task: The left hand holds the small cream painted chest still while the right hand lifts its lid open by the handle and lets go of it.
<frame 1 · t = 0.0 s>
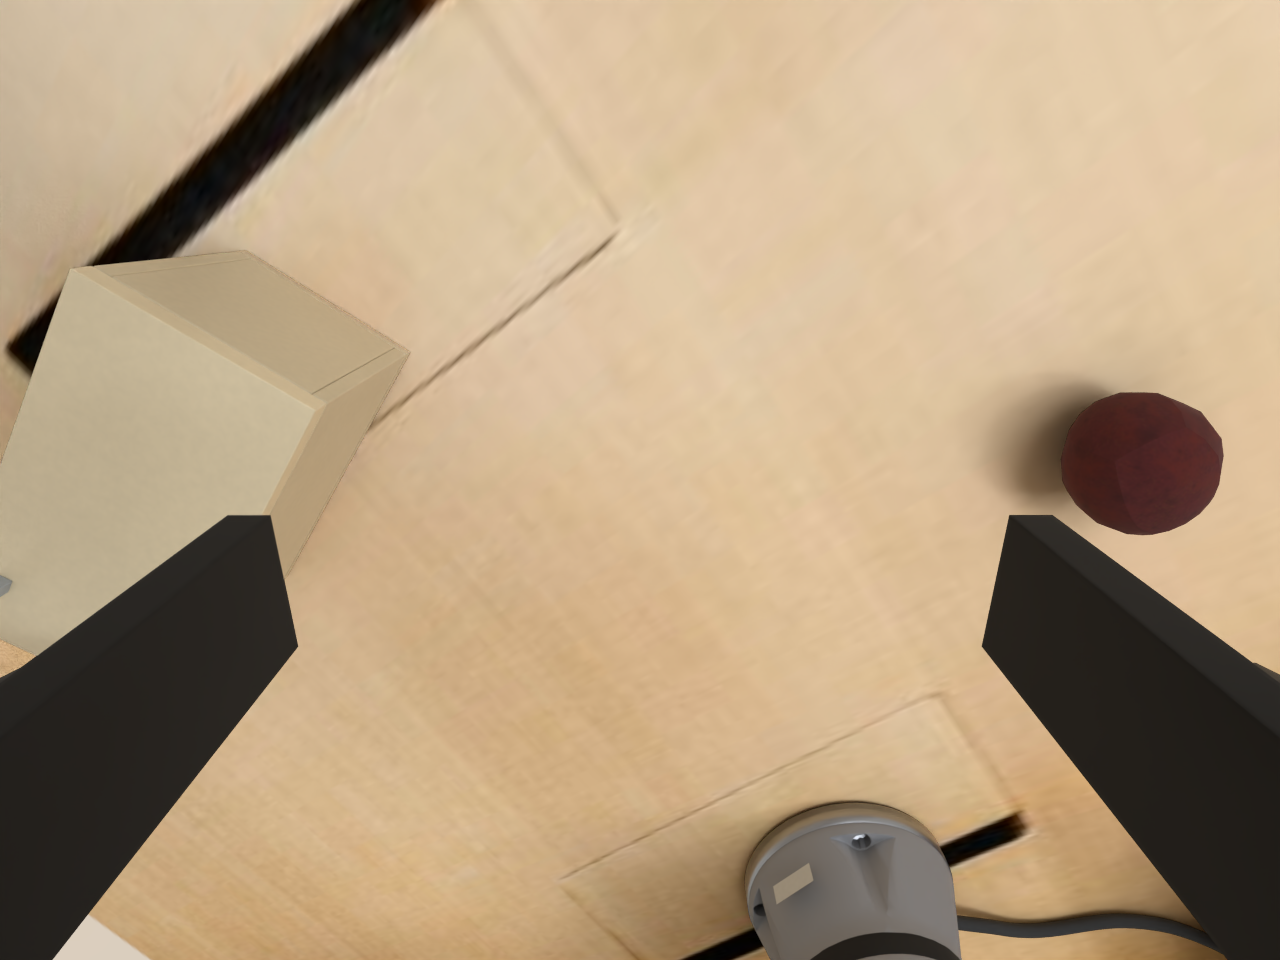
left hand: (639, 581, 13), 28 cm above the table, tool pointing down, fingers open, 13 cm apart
dark red ball: (1096, 440, 41), on the table
chest: (268, 426, 41), on the table
lid: (61, 553, 26), point 15 cm above the table, hinge at 0.0°
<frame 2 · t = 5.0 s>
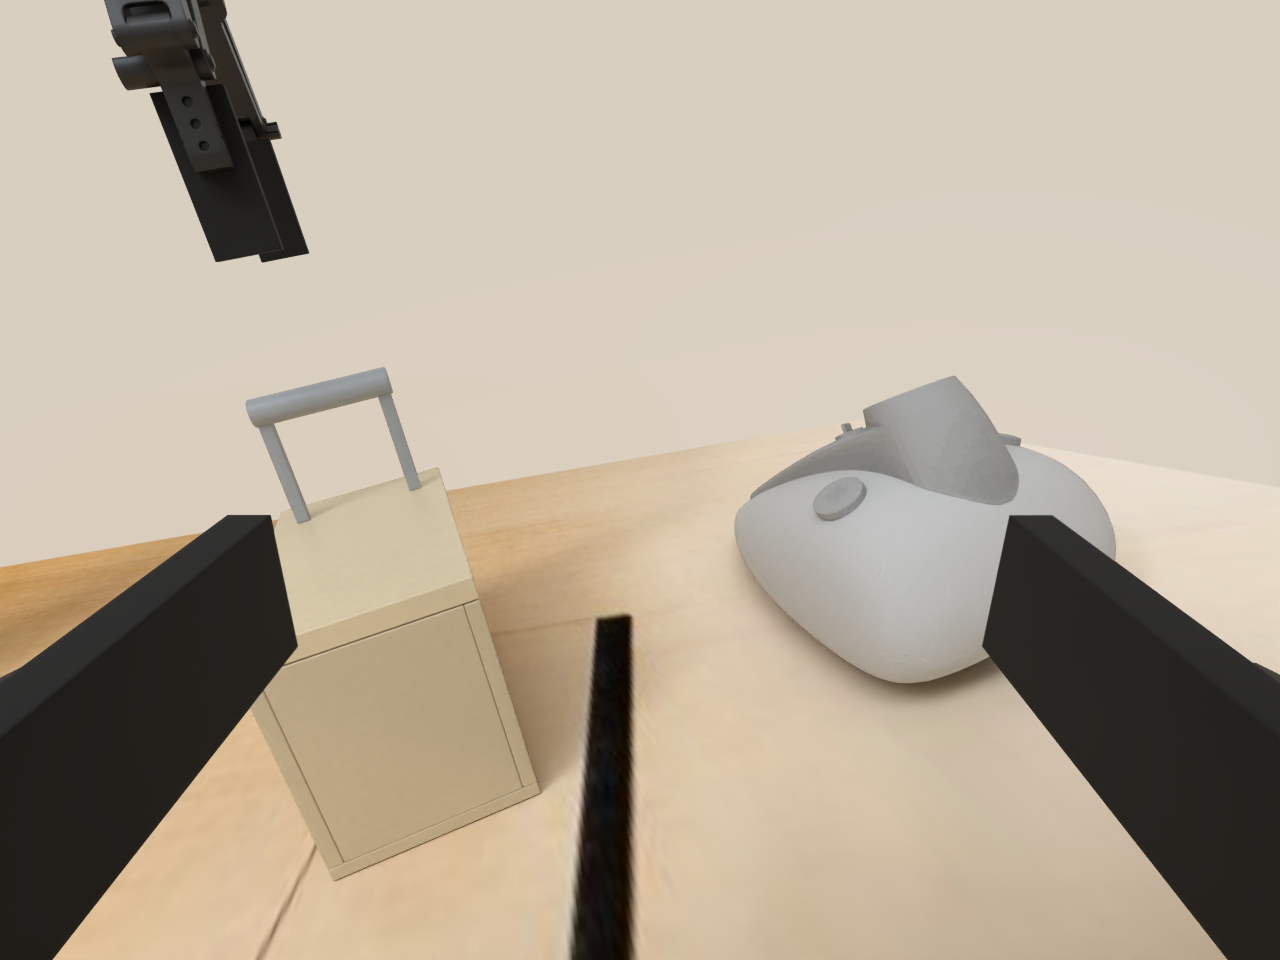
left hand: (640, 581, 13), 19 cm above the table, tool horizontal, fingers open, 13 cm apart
chest: (428, 727, 41), on the table
projector: (873, 592, 45), on the table
lid: (338, 482, 35), point 15 cm above the table, hinge at 0.0°
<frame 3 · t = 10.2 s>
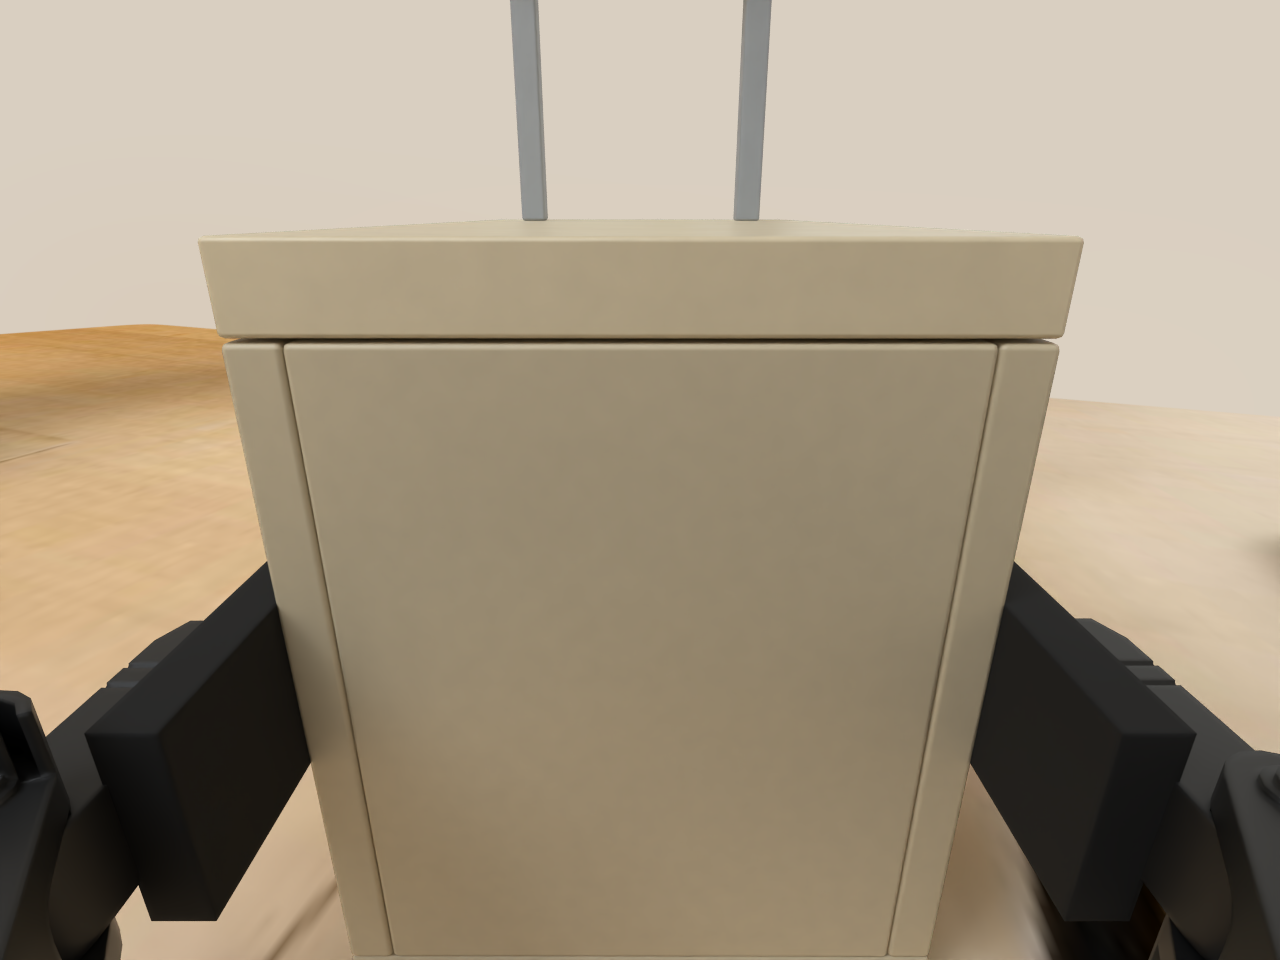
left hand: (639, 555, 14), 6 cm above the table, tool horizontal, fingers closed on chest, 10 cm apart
chest: (640, 678, 20), on the table, touching left hand
lid: (640, 64, 15), point 15 cm above the table, hinge at 0.0°
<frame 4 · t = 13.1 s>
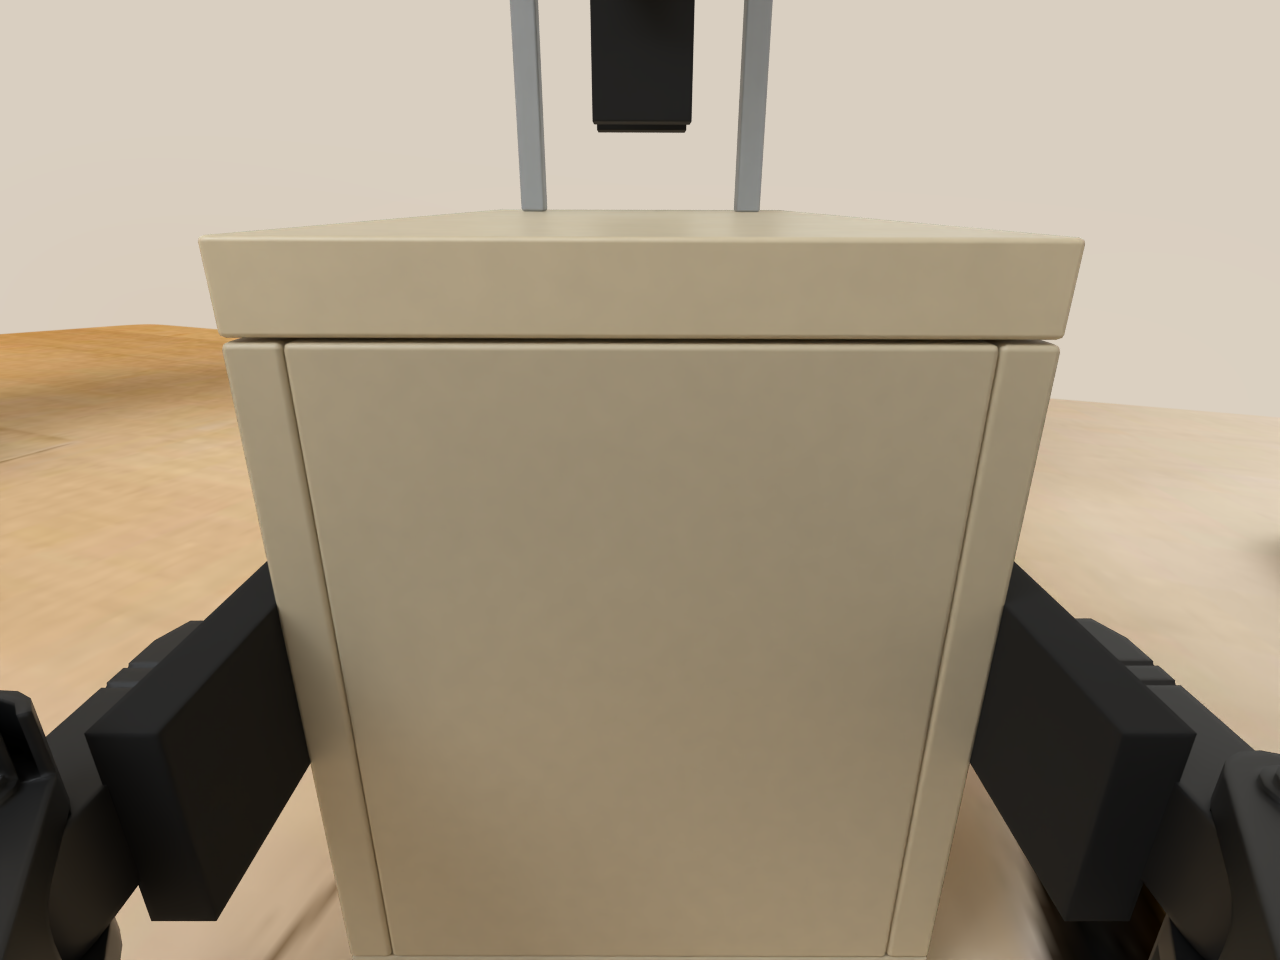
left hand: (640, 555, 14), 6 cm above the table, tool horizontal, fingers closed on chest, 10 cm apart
chest: (639, 678, 20), on the table, touching left hand
lid: (641, 55, 15), point 16 cm above the table, hinge at 1.0°, touching right hand
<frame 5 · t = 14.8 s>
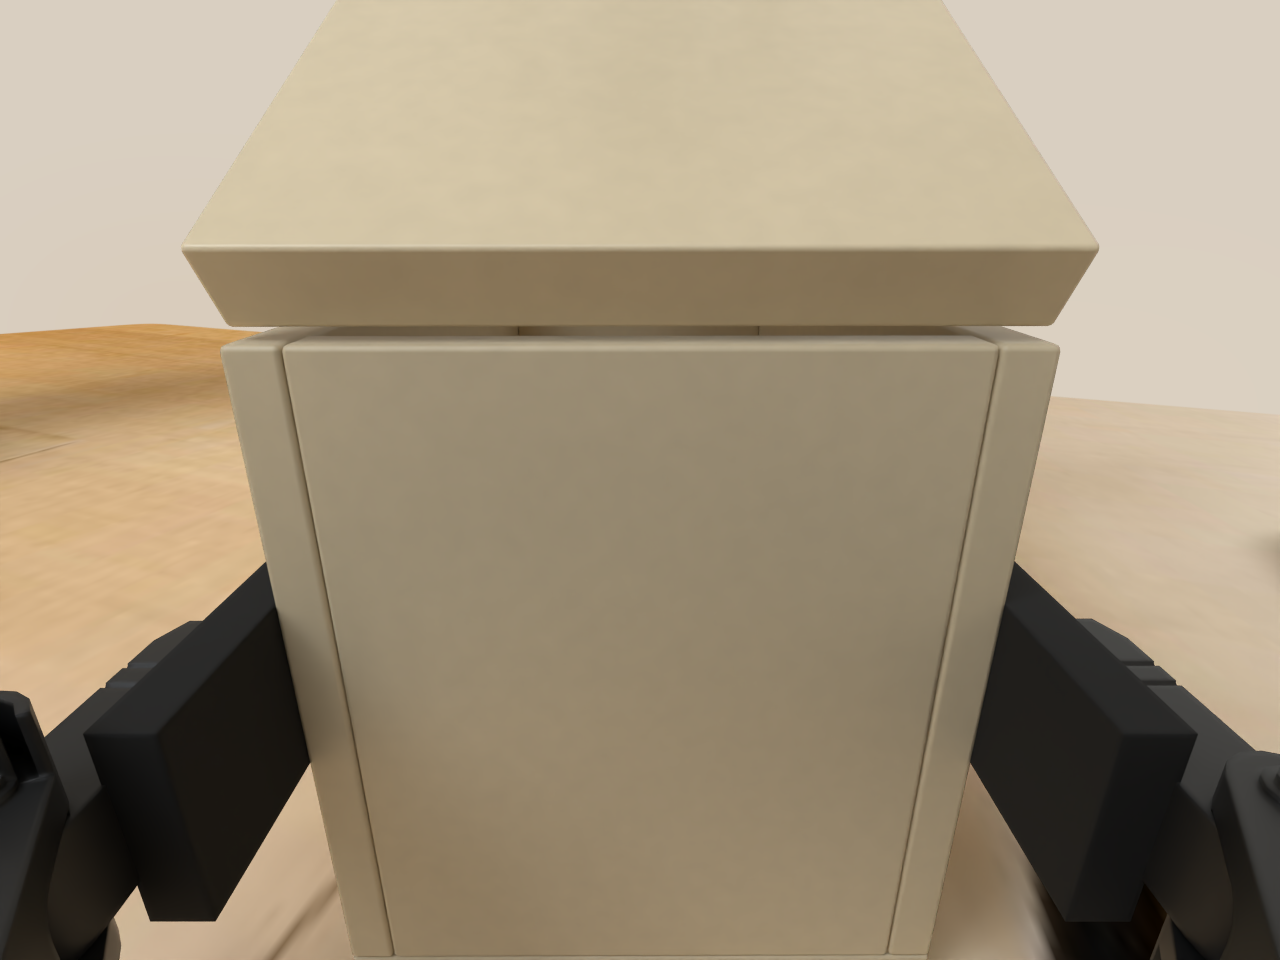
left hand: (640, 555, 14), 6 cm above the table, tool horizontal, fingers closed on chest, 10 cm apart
chest: (639, 677, 20), on the table, touching left hand
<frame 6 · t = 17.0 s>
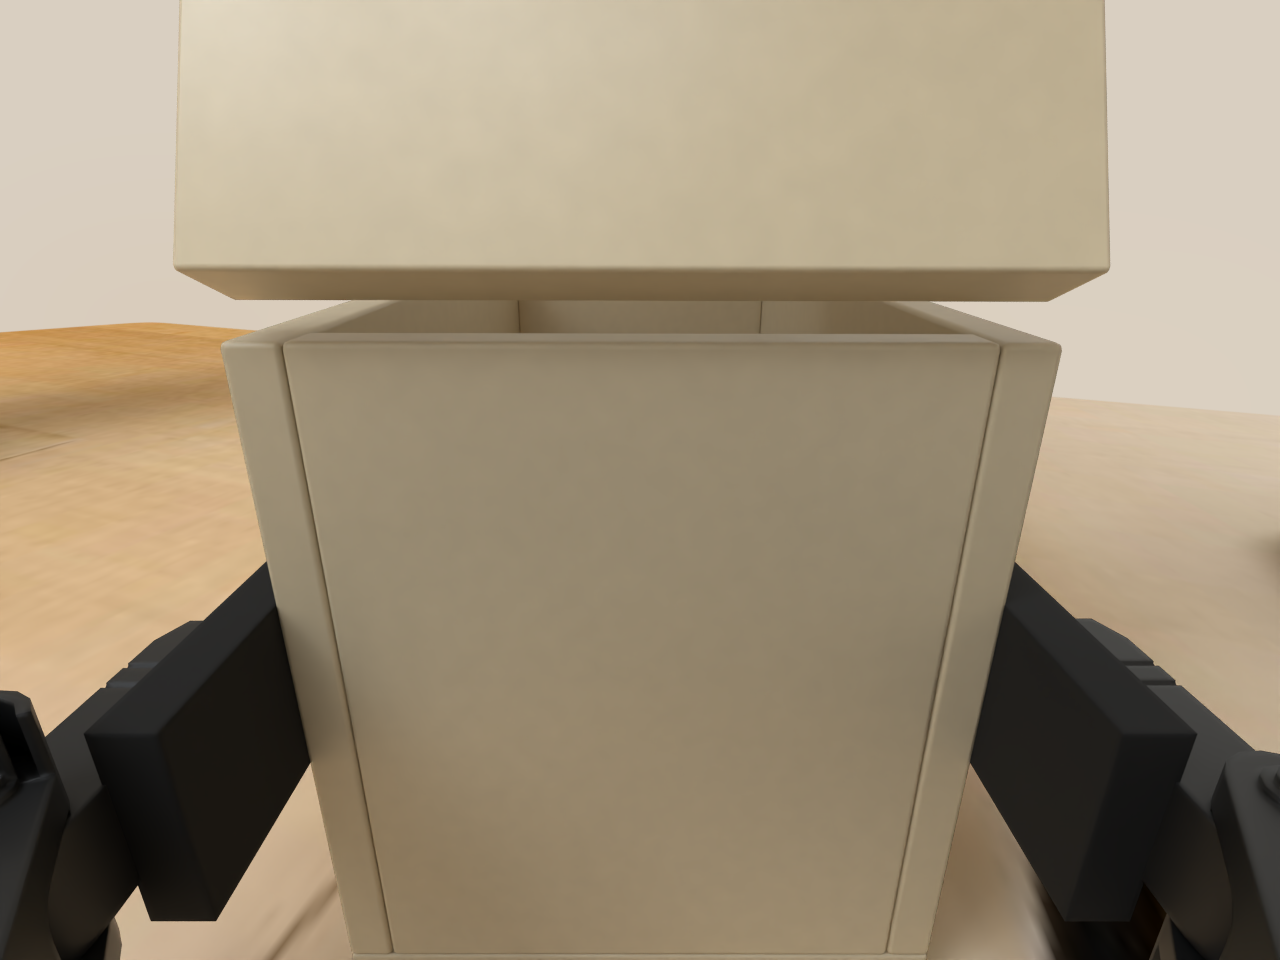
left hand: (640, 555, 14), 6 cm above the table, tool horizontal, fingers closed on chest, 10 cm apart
chest: (639, 675, 20), on the table, touching left hand
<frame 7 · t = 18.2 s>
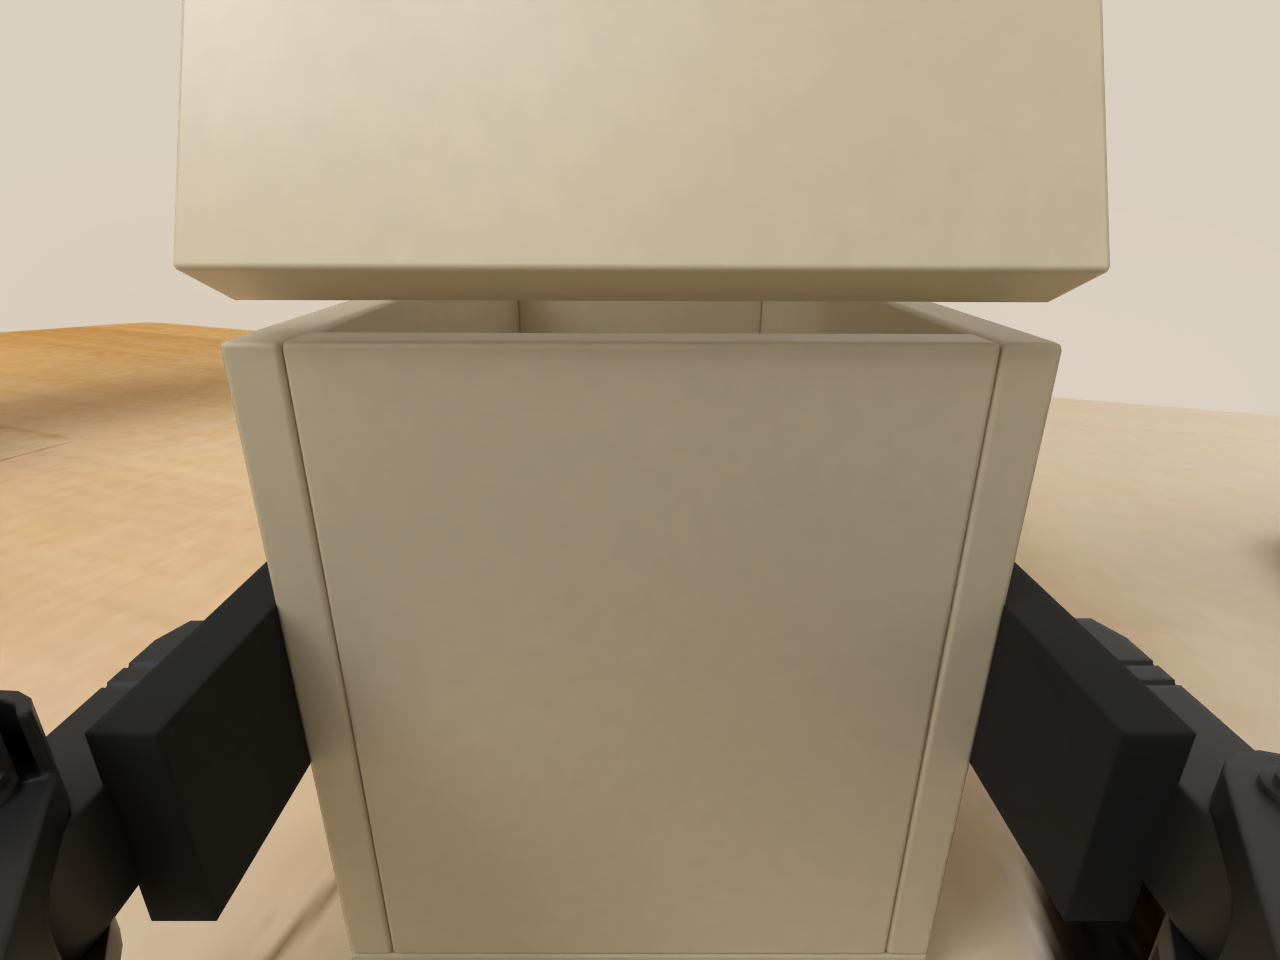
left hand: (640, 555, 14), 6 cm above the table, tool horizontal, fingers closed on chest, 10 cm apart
chest: (639, 675, 20), on the table, touching left hand
when the left hand's fingers open (6 cm above the table, at t = 20.8 s): chest stays where it is, on the table.
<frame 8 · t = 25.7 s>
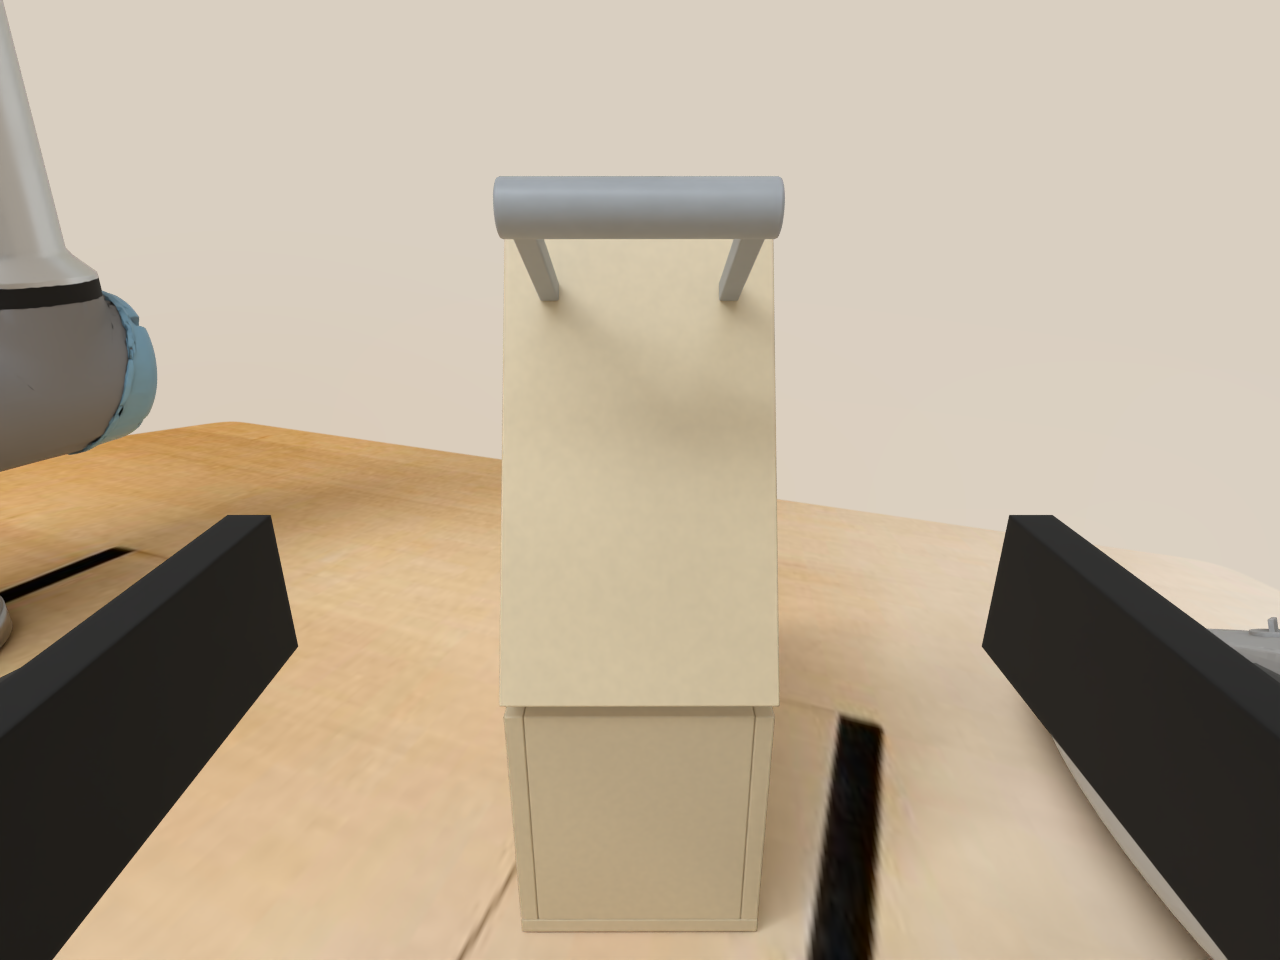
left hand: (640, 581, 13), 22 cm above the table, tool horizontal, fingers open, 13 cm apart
chest: (639, 777, 37), on the table
projector: (1224, 833, 34), on the table
lid: (639, 442, 22), point 21 cm above the table, hinge at 65.3°
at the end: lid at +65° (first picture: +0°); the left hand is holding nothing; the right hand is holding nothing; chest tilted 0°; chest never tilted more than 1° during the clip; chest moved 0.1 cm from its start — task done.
